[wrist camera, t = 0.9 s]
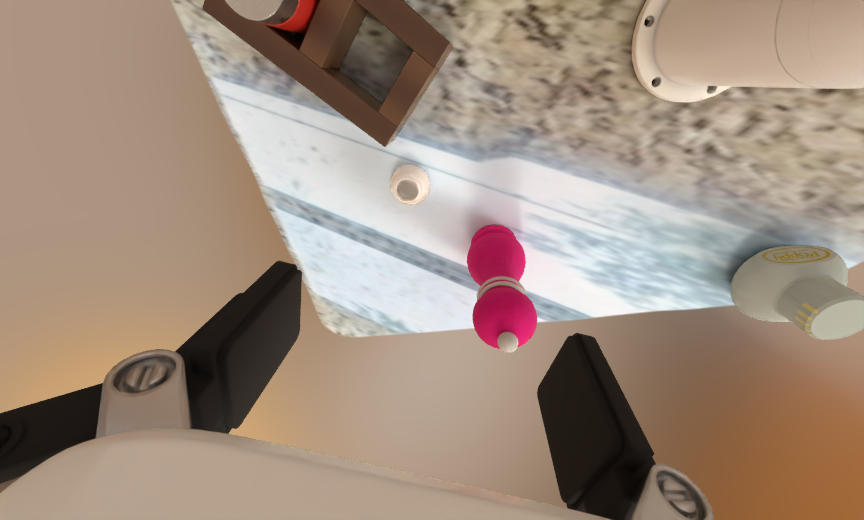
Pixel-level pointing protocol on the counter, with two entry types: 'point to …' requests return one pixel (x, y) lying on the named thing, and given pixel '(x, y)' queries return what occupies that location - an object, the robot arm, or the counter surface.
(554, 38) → the counter surface
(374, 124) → the holder
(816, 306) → the air freshener
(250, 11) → the can
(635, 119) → the counter surface
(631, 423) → the robot arm
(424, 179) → the cream small bowl
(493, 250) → the pepper mill
